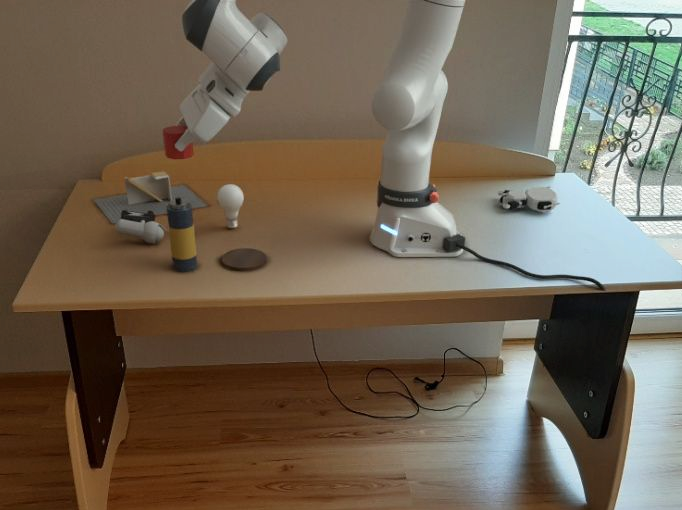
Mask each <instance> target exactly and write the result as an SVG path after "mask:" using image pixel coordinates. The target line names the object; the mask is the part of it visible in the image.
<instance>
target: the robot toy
mask: <svg viewBox="0 0 682 510" xmlns="http://www.w3.org/2000/svg"><path fill="white" fill-rule="evenodd" d="M497 195H498V196H500V197H499V202H500V203H501V204H502V208H504V209H506V210H517V209H522V208H524V207H525V206H527V207H528V209H531V210H533V211H537V212H539V213H546V212H548V211H552V210H555V208H556V207H557V206H559V205H560V204H561V202H558V201H559V200H558V199H559V196H558V194H557V193H556V192H555V191H554V190H553V189H552V186H550V185H549V186H536V187H535V186H534V187H533V186H532V187H529V188H527V189H526V190H525V191H523V190H509V189H504V191H503V190H499V191H498V192H497Z"/></svg>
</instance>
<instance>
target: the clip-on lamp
mask: <svg viewBox="0 0 682 510" xmlns="http://www.w3.org/2000/svg"><path fill="white" fill-rule="evenodd" d="M115 230H116V232H117V233H118V234H120V235H125V236H130V237H133V238H138V239H142V240H143V241H144V242H146V243H147V244H150V245H155V244H157V242H159V241H161V240H163V238H164V235H165V233H164V232H166V233H168V234H169V229H166V228H165V227H164V226H163V224H161V223H159V222H156V216H155V214H153V211H150V210H149V211H148V214H147V213H141V212H134V211H128V210H123V211H122V212H121V219H120V220H119V221H118V222H117V223H115Z"/></svg>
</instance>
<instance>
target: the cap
mask: <svg viewBox="0 0 682 510" xmlns="http://www.w3.org/2000/svg"><path fill="white" fill-rule="evenodd" d="M187 129H188V127H186V126H176V125H172V126H167V127H165V128H163V129H162V139H163V146H164V147H163V149H164V155H165V157H166V158H167V159H172V160H185V159H189V158H192V157H193V156H194V155H195V151H194V141H193V142H192V143H190V144H189V145H187V146H186V147H185V149H184V150H183V151H179V150H178V149H177V148H175V145H174V143H175V142H176V141H177V139H178V138H180V137H181V136H182V135H183V134H184V133H185V131H186V130H187Z"/></svg>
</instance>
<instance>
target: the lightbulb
mask: <svg viewBox="0 0 682 510" xmlns="http://www.w3.org/2000/svg"><path fill="white" fill-rule="evenodd" d="M216 201H217V204H218V206H219V207H220V208H221V209H222V211H223V213H224V216H225V219H226V227H227V228H228V229H231V230H233V229H236V228H237V227H238V226H239V225H238V224H239V223H238V217H239V212H240V209H241V208H242V206H243V204H244V201H245V195H244V192H243V190H242V189H241V188H240V187H239V186H238V185H236V184H233V183H227V184H224V185H222V186H221V187H220V188H219V189H218V191H217V195H216Z"/></svg>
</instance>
